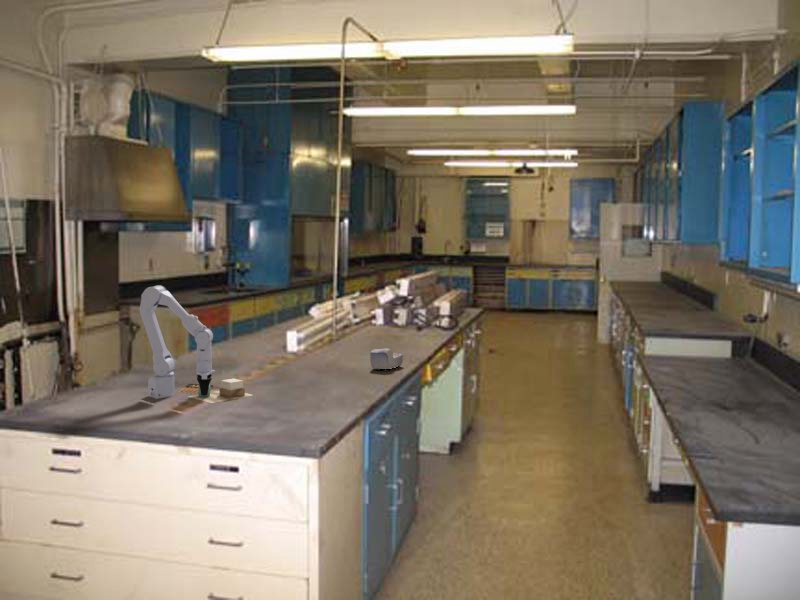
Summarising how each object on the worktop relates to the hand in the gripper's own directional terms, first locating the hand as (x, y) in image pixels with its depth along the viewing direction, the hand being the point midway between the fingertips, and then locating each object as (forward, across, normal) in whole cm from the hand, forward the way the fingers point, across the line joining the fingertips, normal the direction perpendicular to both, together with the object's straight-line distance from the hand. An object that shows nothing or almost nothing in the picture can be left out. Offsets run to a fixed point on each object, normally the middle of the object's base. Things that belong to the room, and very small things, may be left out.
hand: (204, 393), depth 299 cm
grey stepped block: (+2, +52, -87) cm, 101 cm away
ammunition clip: (+1, +17, +1) cm, 17 cm away
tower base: (+1, 0, -11) cm, 11 cm away
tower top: (-2, 0, -11) cm, 11 cm away
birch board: (+2, 0, -6) cm, 7 cm away
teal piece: (+1, 0, 0) cm, 1 cm away
